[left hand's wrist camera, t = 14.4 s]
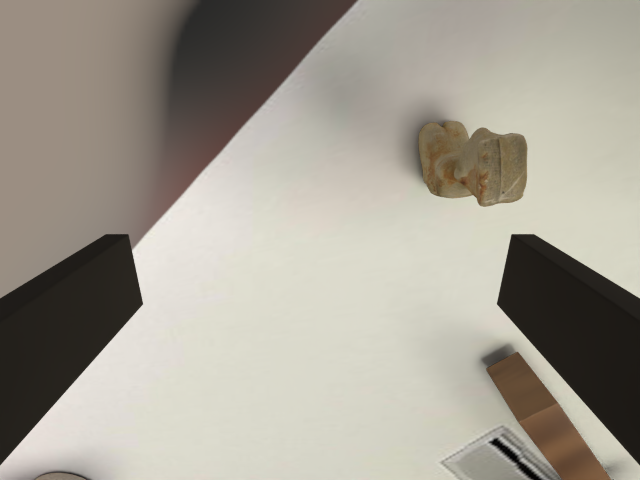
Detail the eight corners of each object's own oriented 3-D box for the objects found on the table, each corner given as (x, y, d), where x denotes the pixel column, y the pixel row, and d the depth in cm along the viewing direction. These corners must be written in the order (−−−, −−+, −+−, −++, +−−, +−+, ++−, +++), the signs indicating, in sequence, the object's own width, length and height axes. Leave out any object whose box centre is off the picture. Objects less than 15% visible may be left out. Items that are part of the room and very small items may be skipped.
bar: (485, 368, 47) (518, 422, 39) (517, 351, 46) (558, 402, 38) (590, 507, 57) (633, 572, 49) (618, 496, 56) (667, 560, 48)
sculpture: (466, 118, 37) (555, 126, 23) (462, 185, 40) (539, 229, 26) (411, 123, 37) (465, 134, 23) (410, 189, 40) (459, 235, 26)
